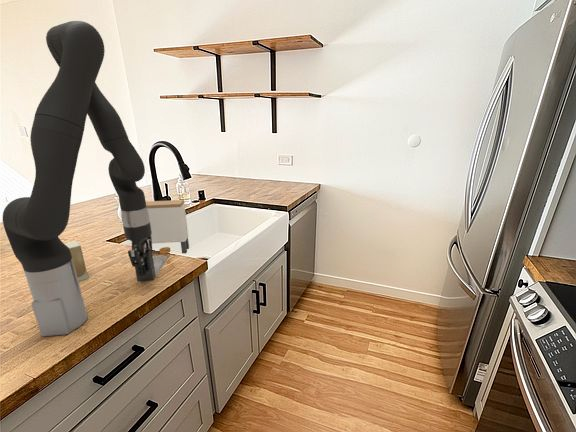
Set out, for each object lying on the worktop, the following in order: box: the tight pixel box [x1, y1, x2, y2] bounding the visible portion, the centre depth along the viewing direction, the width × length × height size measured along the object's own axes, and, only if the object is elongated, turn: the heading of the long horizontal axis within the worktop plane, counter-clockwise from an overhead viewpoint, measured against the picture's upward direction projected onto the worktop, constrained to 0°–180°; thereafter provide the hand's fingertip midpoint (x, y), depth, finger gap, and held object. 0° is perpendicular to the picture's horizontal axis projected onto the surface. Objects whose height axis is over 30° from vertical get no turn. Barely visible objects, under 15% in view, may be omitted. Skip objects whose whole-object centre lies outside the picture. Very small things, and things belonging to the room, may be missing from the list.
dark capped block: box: [134, 249, 168, 282], centre depth 102 cm, size 16×5×10 cm, turn 7°
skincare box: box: [63, 239, 89, 283], centre depth 96 cm, size 6×4×12 cm
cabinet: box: [146, 199, 190, 254], centre depth 114 cm, size 6×18×20 cm, turn 97°
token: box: [158, 246, 171, 255], centre depth 117 cm, size 4×4×1 cm
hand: (145, 271), depth 96 cm, fingers open, 5 cm apart
